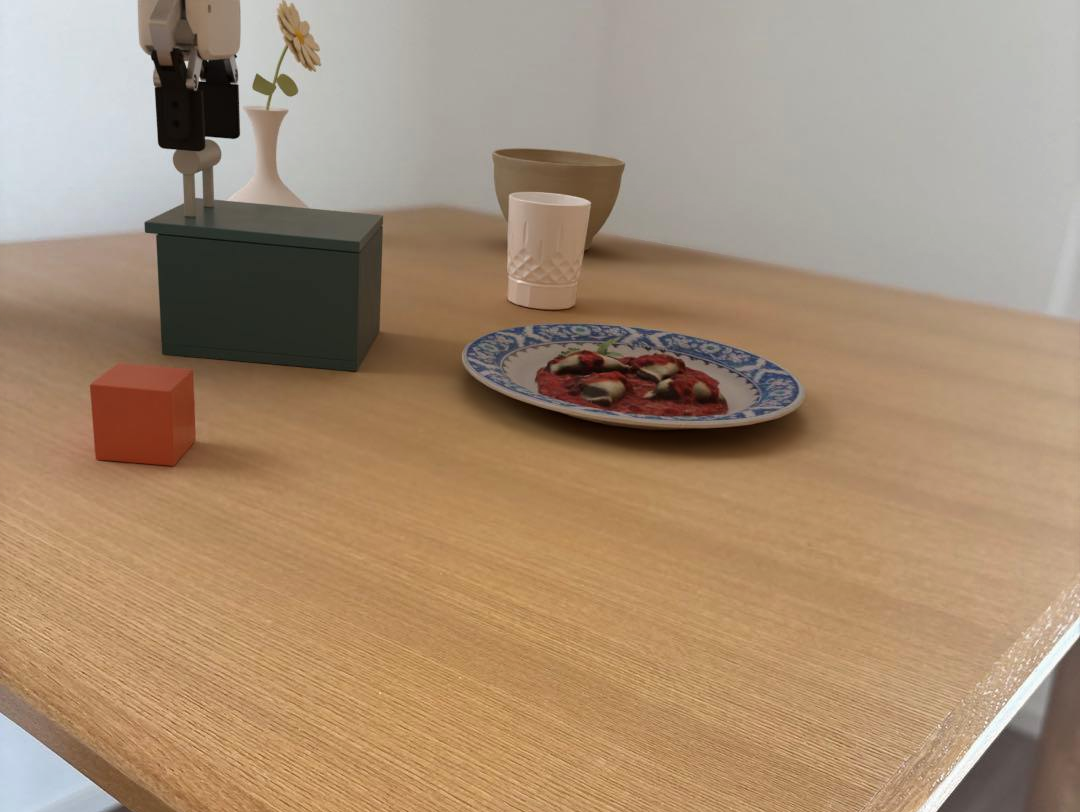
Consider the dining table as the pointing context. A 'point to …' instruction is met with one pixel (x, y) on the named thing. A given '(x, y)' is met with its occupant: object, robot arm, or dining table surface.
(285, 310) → the chest
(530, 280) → the white cup
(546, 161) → the planter bowl
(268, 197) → the flower in vase
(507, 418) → the dining table surface
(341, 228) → the lid
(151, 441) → the block
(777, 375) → the ceramic plate
